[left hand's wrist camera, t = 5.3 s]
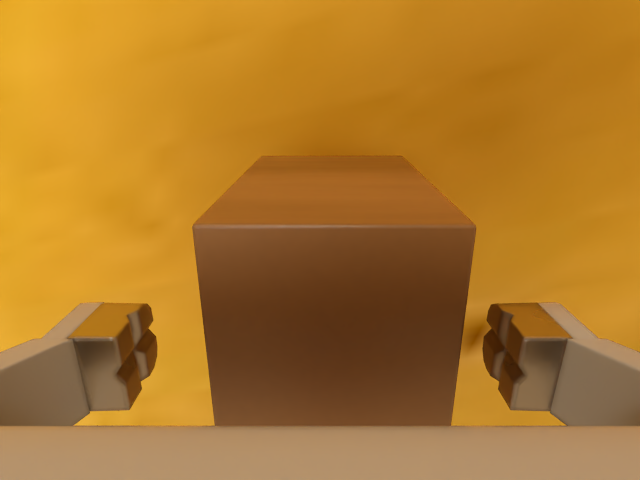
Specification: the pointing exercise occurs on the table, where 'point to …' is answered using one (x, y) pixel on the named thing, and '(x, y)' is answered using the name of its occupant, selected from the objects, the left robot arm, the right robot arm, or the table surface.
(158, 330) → the table surface
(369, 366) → the bar
